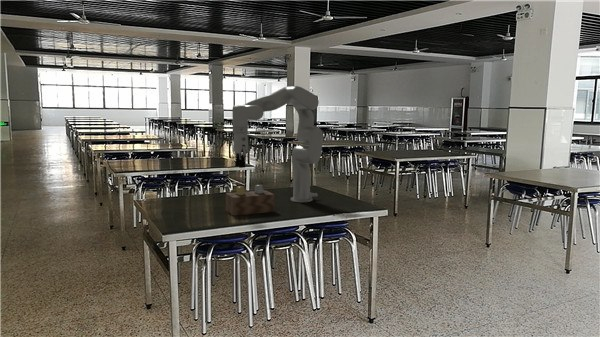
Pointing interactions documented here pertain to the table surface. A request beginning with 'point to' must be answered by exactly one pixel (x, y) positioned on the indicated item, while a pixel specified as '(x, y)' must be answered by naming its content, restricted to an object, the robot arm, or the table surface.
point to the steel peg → (258, 189)
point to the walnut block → (249, 203)
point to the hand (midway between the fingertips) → (240, 166)
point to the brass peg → (240, 190)
